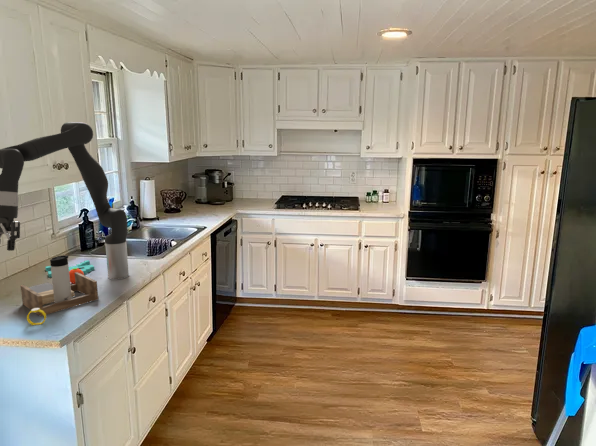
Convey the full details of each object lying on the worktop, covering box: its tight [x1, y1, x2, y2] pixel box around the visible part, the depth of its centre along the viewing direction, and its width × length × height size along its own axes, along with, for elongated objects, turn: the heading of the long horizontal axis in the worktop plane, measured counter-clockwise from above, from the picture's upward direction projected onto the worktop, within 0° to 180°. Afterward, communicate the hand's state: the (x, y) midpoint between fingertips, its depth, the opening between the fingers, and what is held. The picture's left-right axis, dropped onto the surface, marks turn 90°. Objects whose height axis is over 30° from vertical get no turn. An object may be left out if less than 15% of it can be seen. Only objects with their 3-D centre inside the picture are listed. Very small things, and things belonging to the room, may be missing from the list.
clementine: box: [69, 268, 85, 284], centre depth 201 cm, size 8×7×7 cm
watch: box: [26, 308, 47, 326], centre depth 159 cm, size 6×3×6 cm, turn 104°
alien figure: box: [45, 259, 95, 278], centre depth 217 cm, size 20×2×20 cm
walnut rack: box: [20, 272, 99, 317], centre depth 179 cm, size 18×22×8 cm
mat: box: [27, 282, 53, 293], centre depth 193 cm, size 11×11×1 cm
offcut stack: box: [38, 290, 76, 306], centre depth 182 cm, size 5×13×4 cm, turn 137°
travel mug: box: [49, 254, 73, 304], centre depth 176 cm, size 6×7×20 cm
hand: (3, 249), depth 157 cm, fingers open, 8 cm apart
